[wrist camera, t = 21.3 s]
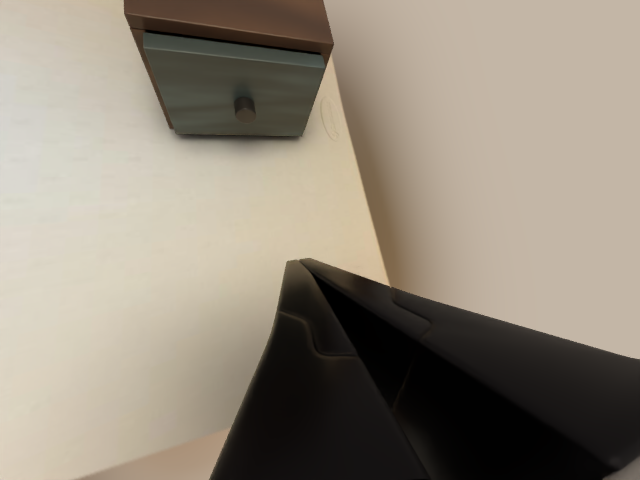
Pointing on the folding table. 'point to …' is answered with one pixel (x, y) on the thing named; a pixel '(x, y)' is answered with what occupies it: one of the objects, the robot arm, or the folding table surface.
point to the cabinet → (233, 24)
